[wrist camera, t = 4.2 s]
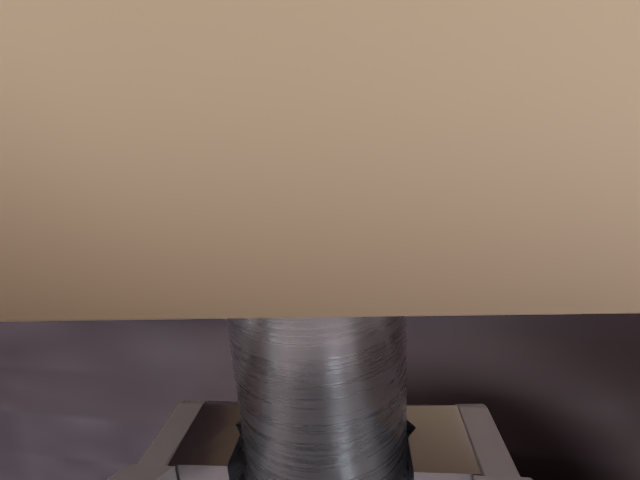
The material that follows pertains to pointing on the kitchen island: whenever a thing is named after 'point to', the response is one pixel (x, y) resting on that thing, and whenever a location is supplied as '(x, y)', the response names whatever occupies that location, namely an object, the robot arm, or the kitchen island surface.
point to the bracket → (318, 158)
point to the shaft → (322, 396)
